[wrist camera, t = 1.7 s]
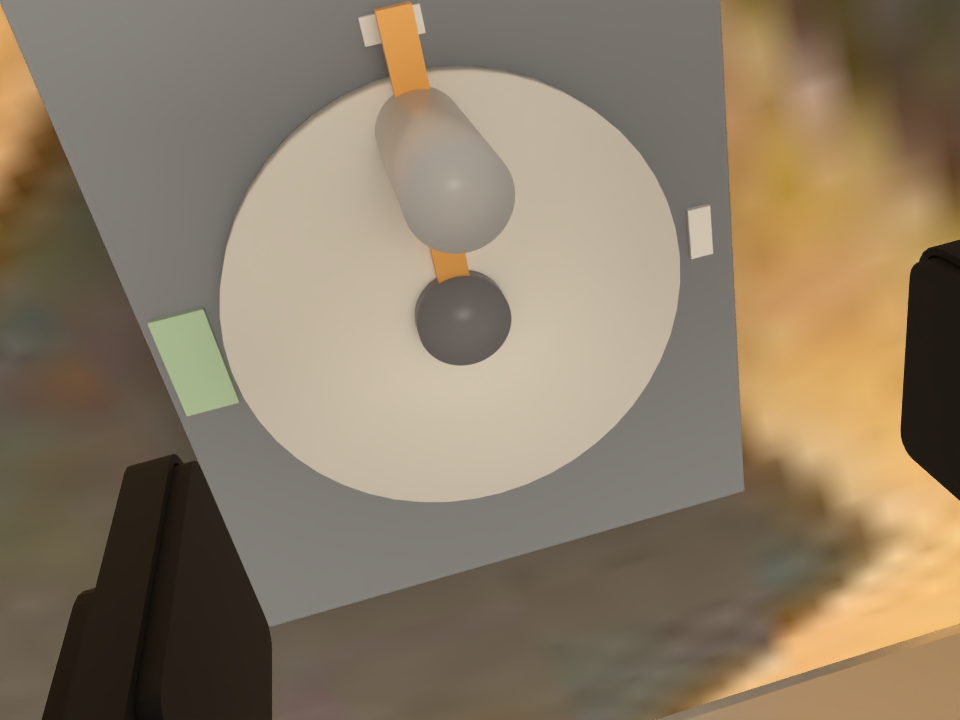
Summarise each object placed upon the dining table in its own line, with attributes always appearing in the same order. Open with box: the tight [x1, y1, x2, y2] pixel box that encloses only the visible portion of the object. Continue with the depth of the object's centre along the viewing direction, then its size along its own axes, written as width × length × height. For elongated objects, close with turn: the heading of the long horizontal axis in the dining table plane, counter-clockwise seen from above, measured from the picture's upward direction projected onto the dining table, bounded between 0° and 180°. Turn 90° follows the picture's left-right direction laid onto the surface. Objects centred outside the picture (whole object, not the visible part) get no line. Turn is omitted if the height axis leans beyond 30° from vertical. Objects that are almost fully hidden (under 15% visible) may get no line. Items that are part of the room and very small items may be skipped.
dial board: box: [0, 0, 744, 627], centre depth 30 cm, size 20×24×2 cm
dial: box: [220, 1, 680, 502], centre depth 26 cm, size 17×15×8 cm
